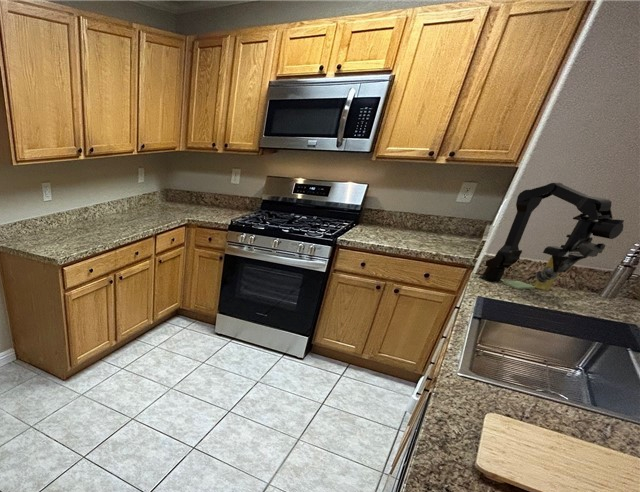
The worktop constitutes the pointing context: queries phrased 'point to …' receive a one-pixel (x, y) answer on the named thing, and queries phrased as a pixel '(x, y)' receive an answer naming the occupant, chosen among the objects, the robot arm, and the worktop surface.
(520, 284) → the mat
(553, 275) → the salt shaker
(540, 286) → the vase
